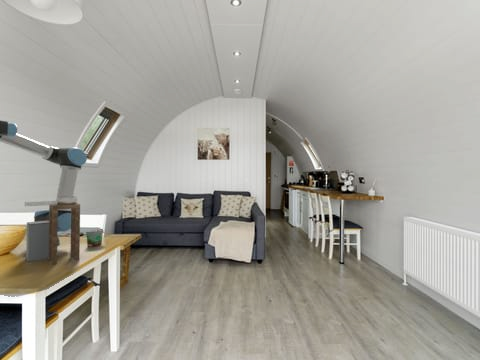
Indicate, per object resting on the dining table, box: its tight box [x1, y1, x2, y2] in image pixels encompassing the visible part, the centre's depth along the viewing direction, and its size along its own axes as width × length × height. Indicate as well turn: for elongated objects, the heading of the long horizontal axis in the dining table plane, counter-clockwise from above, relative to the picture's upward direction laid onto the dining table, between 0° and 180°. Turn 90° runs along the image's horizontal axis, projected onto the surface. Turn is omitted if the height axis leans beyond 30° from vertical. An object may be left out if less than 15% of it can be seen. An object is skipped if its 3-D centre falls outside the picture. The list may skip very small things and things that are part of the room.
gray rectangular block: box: [25, 221, 49, 263], centre depth 139 cm, size 8×10×20 cm
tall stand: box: [48, 203, 81, 265], centre depth 136 cm, size 10×12×30 cm
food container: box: [85, 228, 105, 248], centre depth 166 cm, size 12×6×10 cm, turn 168°
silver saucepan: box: [24, 195, 78, 207], centre depth 132 cm, size 9×22×4 cm, turn 136°
